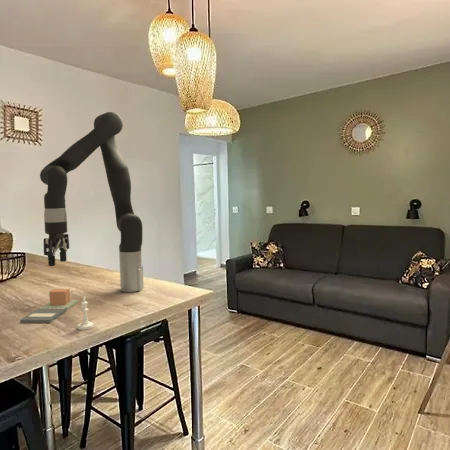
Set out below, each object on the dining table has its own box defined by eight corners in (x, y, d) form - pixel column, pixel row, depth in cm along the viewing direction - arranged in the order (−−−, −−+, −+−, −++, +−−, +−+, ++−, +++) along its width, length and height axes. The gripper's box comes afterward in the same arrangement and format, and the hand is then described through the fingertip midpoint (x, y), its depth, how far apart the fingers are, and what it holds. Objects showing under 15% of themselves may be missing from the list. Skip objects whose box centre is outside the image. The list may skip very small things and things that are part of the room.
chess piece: (95, 323, 115) (94, 294, 114) (90, 329, 110) (89, 298, 109) (80, 324, 115) (79, 294, 113) (74, 330, 110) (73, 298, 109)
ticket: (66, 310, 127) (66, 307, 127) (50, 322, 116) (50, 319, 115) (39, 310, 127) (39, 307, 127) (20, 322, 116) (20, 319, 116)
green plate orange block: (77, 302, 136) (76, 287, 136) (67, 310, 127) (66, 294, 127) (52, 302, 136) (51, 287, 136) (39, 309, 128) (39, 294, 127)
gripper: (56, 222, 122) (58, 267, 124) (74, 218, 137) (76, 259, 138) (34, 222, 123) (37, 267, 124) (55, 218, 137) (57, 259, 138)
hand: (57, 263), depth 131 cm, fingers open, 8 cm apart
